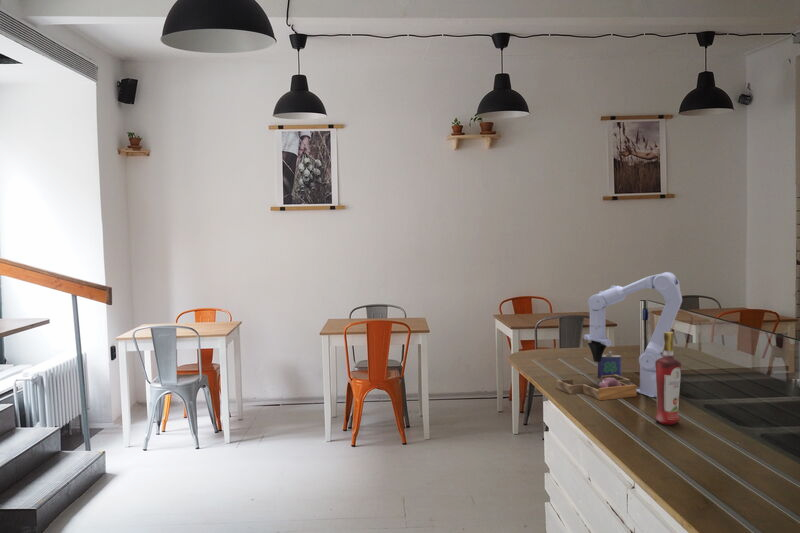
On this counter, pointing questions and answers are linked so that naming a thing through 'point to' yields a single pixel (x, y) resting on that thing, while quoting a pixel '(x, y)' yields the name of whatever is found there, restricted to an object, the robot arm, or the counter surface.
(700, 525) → the counter surface
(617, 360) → the flask
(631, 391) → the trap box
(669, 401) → the liquor
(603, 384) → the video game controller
